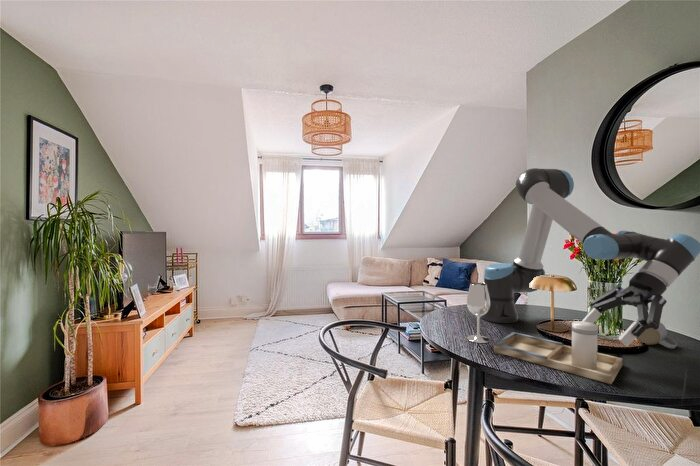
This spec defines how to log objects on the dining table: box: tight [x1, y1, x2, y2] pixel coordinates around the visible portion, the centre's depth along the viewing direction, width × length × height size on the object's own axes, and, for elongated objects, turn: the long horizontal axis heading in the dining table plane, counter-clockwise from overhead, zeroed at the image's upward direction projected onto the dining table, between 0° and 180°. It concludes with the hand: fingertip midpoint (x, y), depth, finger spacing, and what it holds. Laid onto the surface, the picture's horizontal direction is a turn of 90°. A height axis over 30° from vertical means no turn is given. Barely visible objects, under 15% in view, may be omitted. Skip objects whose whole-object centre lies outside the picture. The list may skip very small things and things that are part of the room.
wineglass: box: [466, 282, 491, 344], centre depth 118 cm, size 8×8×20 cm
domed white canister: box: [571, 320, 599, 370], centre depth 95 cm, size 6×6×12 cm
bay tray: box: [493, 331, 623, 385], centre depth 101 cm, size 30×16×3 cm, turn 43°
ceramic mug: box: [635, 321, 678, 350], centre depth 113 cm, size 11×8×8 cm
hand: (601, 334), depth 94 cm, fingers open, 13 cm apart
